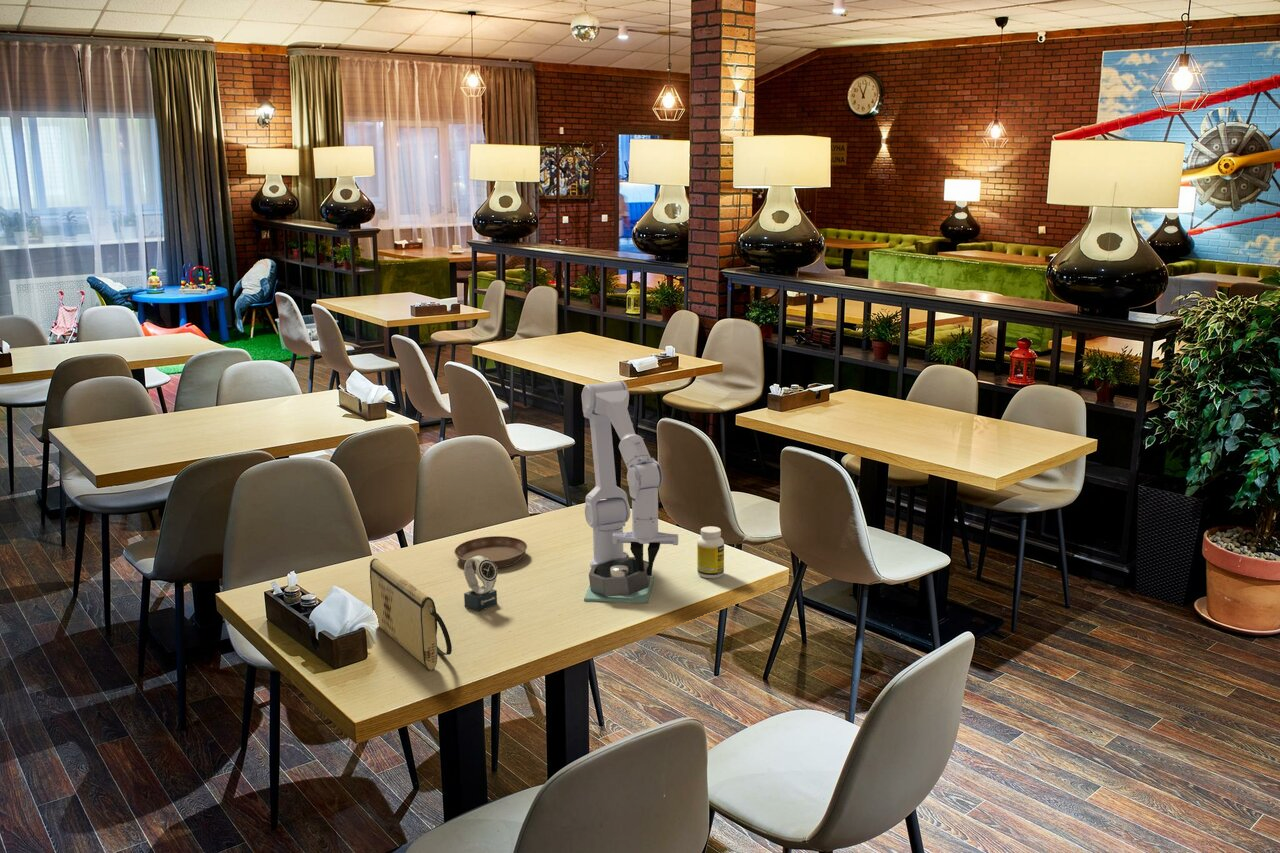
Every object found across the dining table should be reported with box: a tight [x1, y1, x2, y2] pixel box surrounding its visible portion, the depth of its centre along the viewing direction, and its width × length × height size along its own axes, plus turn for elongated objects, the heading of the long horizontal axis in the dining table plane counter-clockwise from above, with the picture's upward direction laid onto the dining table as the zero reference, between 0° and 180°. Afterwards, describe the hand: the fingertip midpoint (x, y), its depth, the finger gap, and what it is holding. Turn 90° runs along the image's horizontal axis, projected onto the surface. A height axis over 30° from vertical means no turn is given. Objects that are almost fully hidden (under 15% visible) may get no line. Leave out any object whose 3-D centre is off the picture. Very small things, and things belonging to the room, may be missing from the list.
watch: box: [463, 556, 499, 612], centre depth 230 cm, size 6×8×11 cm
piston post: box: [610, 565, 628, 577], centre depth 238 cm, size 4×4×4 cm
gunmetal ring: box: [588, 556, 652, 597], centre depth 238 cm, size 13×13×4 cm
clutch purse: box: [369, 558, 453, 671], centre depth 211 cm, size 30×7×15 cm, turn 35°
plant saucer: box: [453, 535, 528, 569], centre depth 260 cm, size 18×18×3 cm
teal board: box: [583, 576, 655, 603], centre depth 239 cm, size 14×14×1 cm
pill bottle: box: [696, 525, 725, 579], centre depth 246 cm, size 6×6×11 cm
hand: (645, 574), depth 238 cm, fingers closed on gunmetal ring
